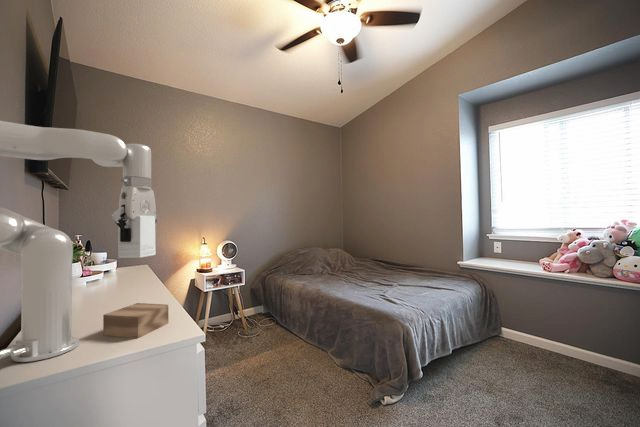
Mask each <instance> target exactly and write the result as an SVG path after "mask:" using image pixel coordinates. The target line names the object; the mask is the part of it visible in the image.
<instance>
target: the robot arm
mask: <svg viewBox="0 0 640 427" xmlns="http://www.w3.org/2000/svg"><path fill="white" fill-rule="evenodd" d="M0 157H8V158H18V159H25V160H36V161H49V160H50V161H51V160H56V159H57V160H58V159H64V158H67V159H68V158H73V159H74V158H78V159H89V160H92V162H93V163H95V164H97V165H98V166H101V167H107V168H113V167H118V168H121V167H122V178H121V180H120V182H121V184H122V187H121V190H120V193H119V200H118V209H117V210H115V211H114V212H113V213H111V217H112V219H113V221H114V223H115V224H116V225H117V229H118V228H120V241H121V242H130V241H131V228H129V226H130V224H131V222H132V220H136V216H155V224H156V223H157V221H158V219H159V217H160V215H159V214H158V213H157V209H156V208H157V207H156V198H155V197H156V196H155V192H154V190H153V189H152V149H151V147H149V146H148V145H145V144H142V143H125V141H123V140H122V139H121V138H120V137H118V136H115V135H112V134H108V133H103V132H97V131H91V130H85V129H78V128H77V129H76V128H64V127H63V128H60V127H47V126H46V127H45V126H44V127H43V126H35V125H30V124H29V125H28V124H24V123H17V122H11V121H5V120H0ZM122 216H123V217H122ZM125 216H127V217H128V218H124V217H125ZM121 218H122V219H121ZM125 221H126V223H125ZM0 249H1V250H3V251H6V252H8V253H12V254H15V255H18V256H19V257H20V267H21V268H20V271H21V272H20V273H21V276H20V278H21V280H20V281H21V286H20V288H21V289H20V293H21V294H20V295H21V309H20V310H21V313H20V314H21V316H20V317H21V318H20V319H21V325H20V326H21V328H20V330H21V333H20V334H21V335H20V338H19V339H15V344H13V345H11V347H7V348H4V349H1V350H0V360H2V359H5V358H7V357H11V360H12V361H13V362H17V363H28V362H37V361H41V360H47V359H50V358H54V357H57V356H59V355H63V354H65V353H67V352H70V351H72V350H74V349H75V348H77V347H78V345H79V344H80V338H79V337H76V336H72V335H73V334H72V333H73V332H72V331H73V327H72V326H73V325H72V324H73V323H72V322H73V317H72V316H73V310H72V309H73V308H72V306H73V295H72V294H73V286H72V282H73V281H72V280H73V279H72V278H73V273H72V272H73V258H74V245H73V242H72V239H71V238H70V236H69V235H68V234H66V233H65V232H63V231H62V230H59V229H56V228H53V227H50V226H48V225H45V224H44V223H41V222H39V221H37V220H33V219H32V218H29V217H26V216H24V215H21V214H19V213H17V212H15V211H12V210H11V209H8V208H5V207H2V206H1V207H0Z"/></svg>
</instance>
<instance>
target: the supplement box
mask: <svg viewBox="0 0 640 427" xmlns="http://www.w3.org/2000/svg"><path fill="white" fill-rule="evenodd" d="M122 217H123V216H122ZM124 218H128V217H127V216H125V217H124ZM121 219H122V218H121ZM125 223H126V221H125ZM129 228H131V241H130V242H121V241H120V228H118V227H117V248H118V249H117V251H118V252H117V253H118V255H117V258H118V259H121V258H123V259H126V258H127V259H128V258H129V259H130V258H131V259H132V258H133V259H134V258H137V259H138V258H145V257H146V258H147V257H151V256H156V255H157V254H156V253H157V252H156V250H157V249H156V248H157V247H156V243H157V242H156V223H155V216H136V220H132V222H131V224H130V226H129Z"/></svg>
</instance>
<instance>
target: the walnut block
mask: <svg viewBox="0 0 640 427" xmlns="http://www.w3.org/2000/svg"><path fill="white" fill-rule="evenodd" d="M102 315H103V316H102V317H103V319H102V321H103V322H102V323H103V324H102V325H103V327H102V328H103V336H104V337H105V336H106V337H107V336H108V337H109V336H110V337H116V338H117V337H121V338H129V339H134V338H135V339H139V338H142V337H144V336H145V335H147V334H149V333H151V332H154V331H155V330H157V329H159V328H161V327H163V326H165V324H166V325H168V324H169V304H164V303H161V304H160V303H146V302H145V303H144V302H143V303H142V302H141V303H140V302H136V303H133V304H130V305H127V306H124V307H122V308H118V309H116V310H113V311H109V312H108V313H104V314H102ZM167 323H168V324H167Z"/></svg>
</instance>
